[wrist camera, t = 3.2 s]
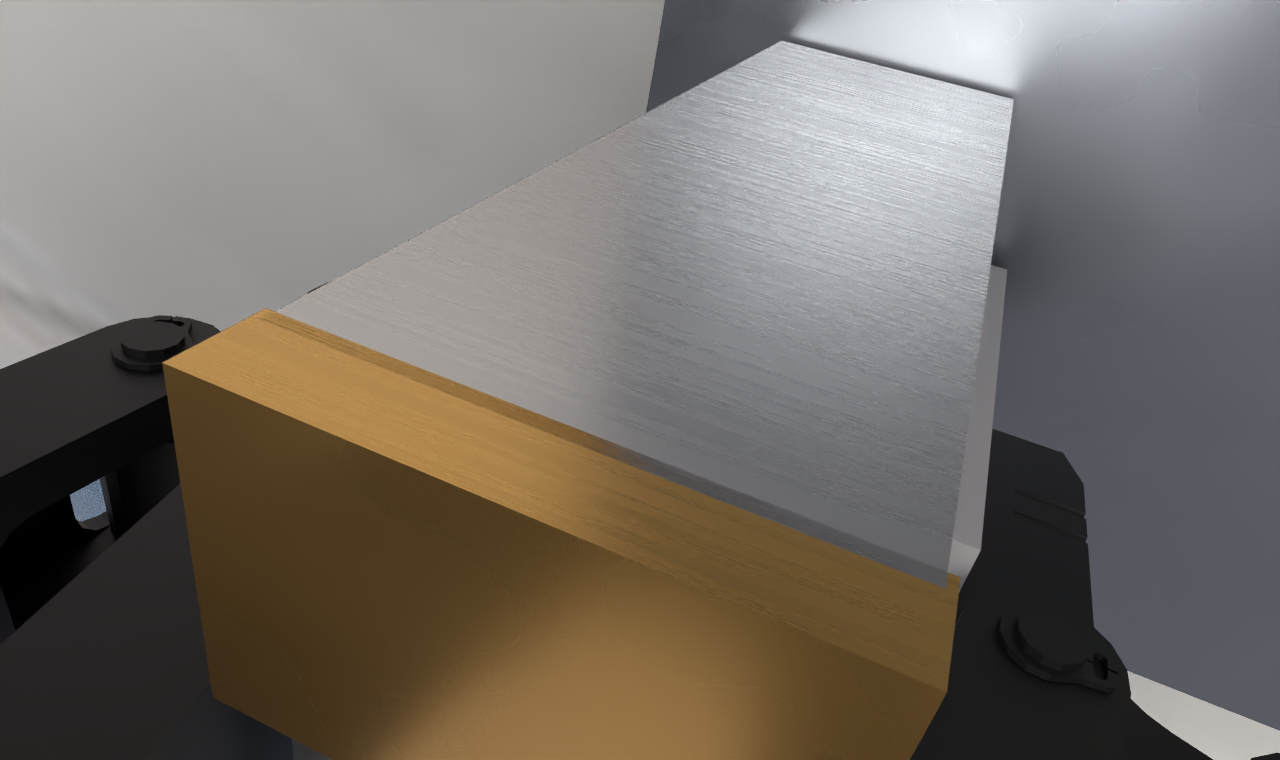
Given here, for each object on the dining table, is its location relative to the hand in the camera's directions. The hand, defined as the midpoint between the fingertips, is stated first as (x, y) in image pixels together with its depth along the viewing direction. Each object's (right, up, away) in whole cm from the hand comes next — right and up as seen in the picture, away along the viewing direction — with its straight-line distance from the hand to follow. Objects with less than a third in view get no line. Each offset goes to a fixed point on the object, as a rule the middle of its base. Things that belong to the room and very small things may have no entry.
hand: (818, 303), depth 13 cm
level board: (+8, +7, -5) cm, 12 cm away
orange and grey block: (0, 0, 0) cm, 1 cm away
